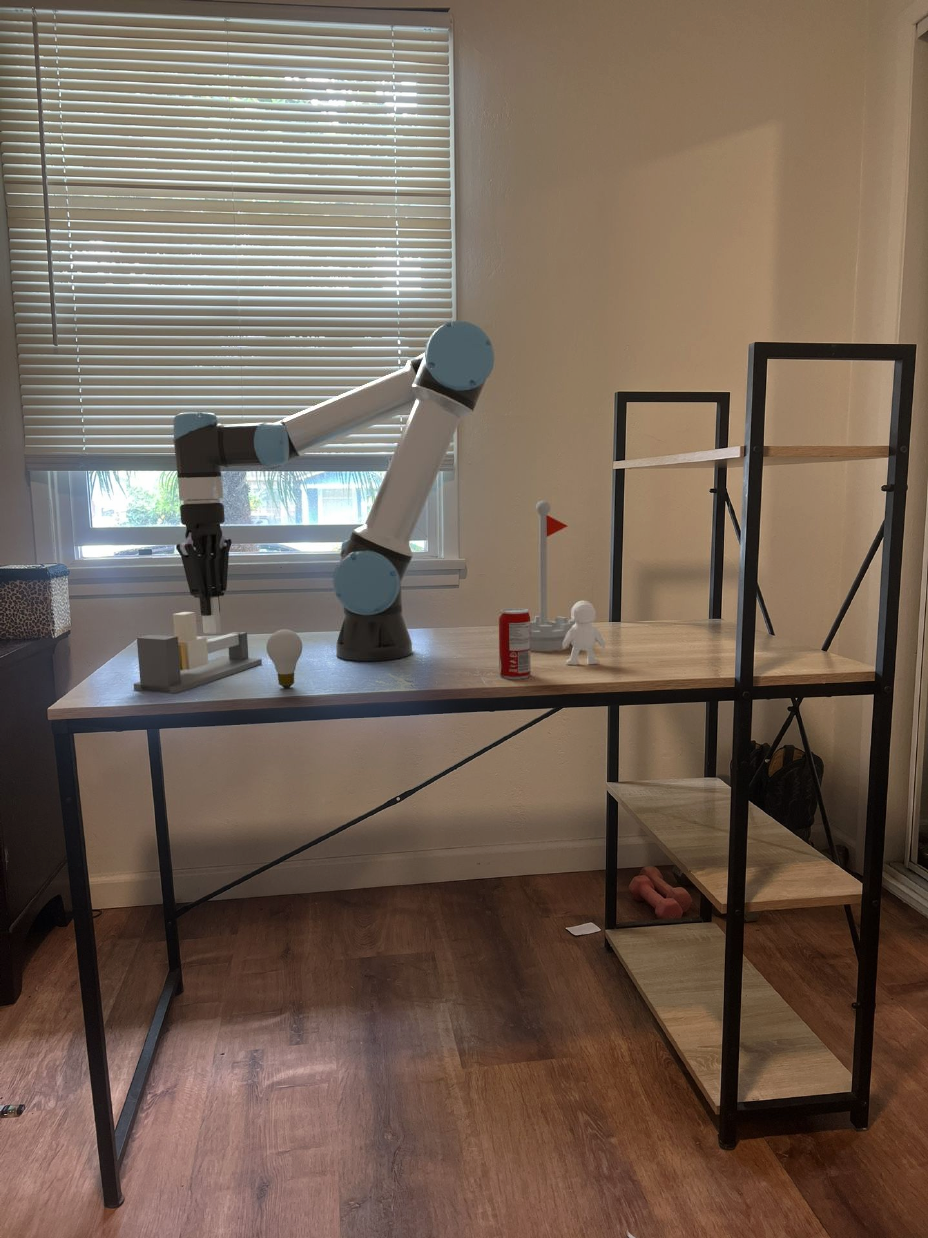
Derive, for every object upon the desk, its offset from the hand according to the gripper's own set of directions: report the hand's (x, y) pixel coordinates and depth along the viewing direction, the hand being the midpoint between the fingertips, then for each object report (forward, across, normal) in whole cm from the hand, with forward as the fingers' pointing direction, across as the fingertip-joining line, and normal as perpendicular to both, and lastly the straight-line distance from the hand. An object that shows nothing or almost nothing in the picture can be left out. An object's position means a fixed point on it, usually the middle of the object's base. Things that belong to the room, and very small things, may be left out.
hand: (212, 632), depth 153 cm
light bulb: (+8, +6, +19) cm, 22 cm away
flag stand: (+9, -41, +51) cm, 66 cm away
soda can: (+9, -12, +54) cm, 56 cm away
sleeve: (+5, +6, -1) cm, 8 cm away
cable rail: (+8, +3, -1) cm, 8 cm away
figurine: (+9, -25, +63) cm, 68 cm away
